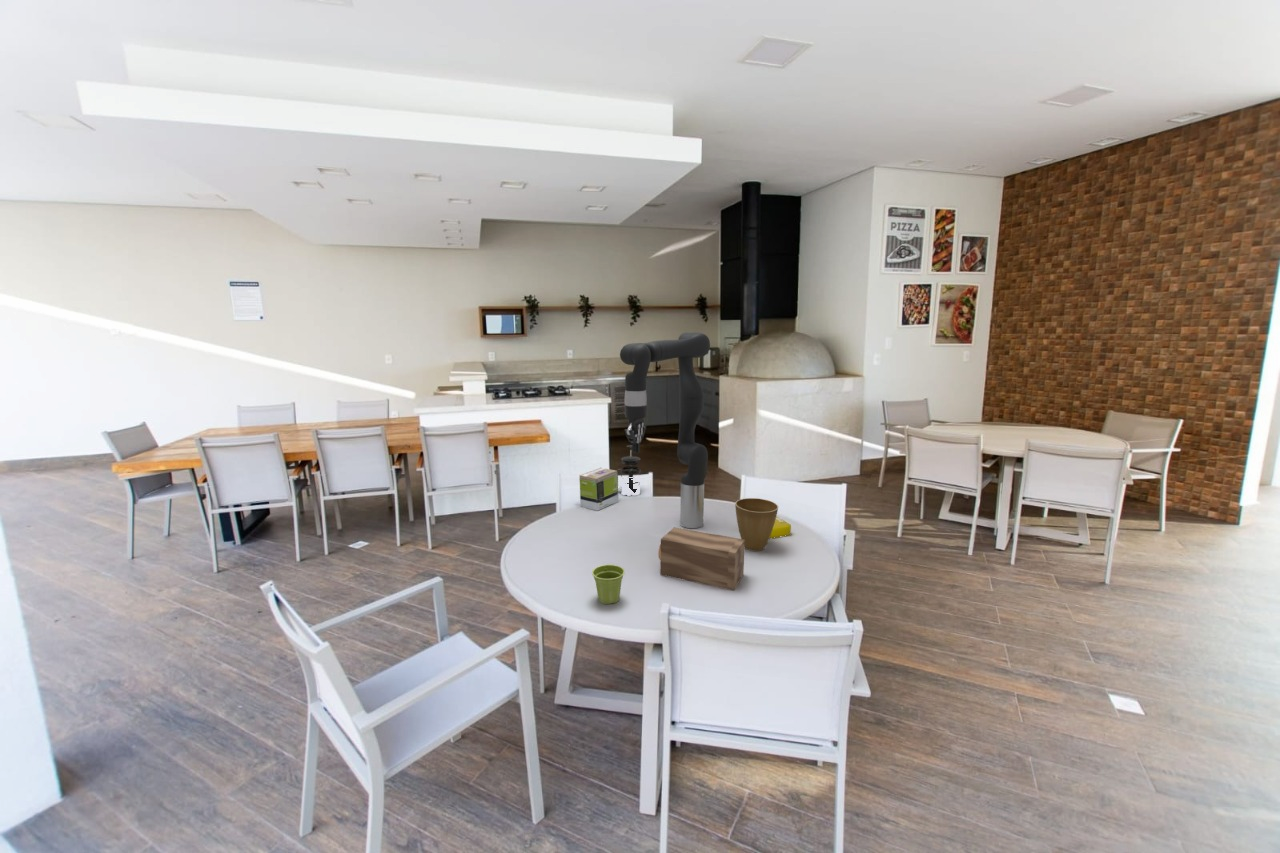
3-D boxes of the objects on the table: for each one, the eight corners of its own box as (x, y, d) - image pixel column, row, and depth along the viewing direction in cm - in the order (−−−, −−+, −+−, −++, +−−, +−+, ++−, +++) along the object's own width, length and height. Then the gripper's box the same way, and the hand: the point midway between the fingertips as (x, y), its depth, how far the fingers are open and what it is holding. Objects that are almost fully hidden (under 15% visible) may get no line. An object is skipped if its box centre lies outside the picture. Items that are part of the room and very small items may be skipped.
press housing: (673, 560, 183) (673, 527, 180) (743, 575, 173) (744, 539, 170) (660, 574, 173) (660, 539, 170) (733, 590, 163) (735, 553, 160)
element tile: (792, 536, 205) (793, 524, 204) (758, 541, 200) (759, 529, 199) (769, 522, 219) (770, 511, 218) (737, 527, 214) (738, 516, 213)
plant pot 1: (586, 604, 155) (586, 575, 153) (600, 589, 163) (600, 562, 162) (617, 610, 151) (616, 581, 150) (629, 594, 160) (629, 567, 158)
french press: (641, 490, 260) (641, 443, 255) (642, 496, 250) (642, 447, 246) (617, 490, 259) (616, 443, 255) (617, 496, 250) (617, 448, 245)
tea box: (601, 498, 248) (601, 466, 245) (618, 502, 242) (618, 470, 239) (579, 507, 236) (578, 474, 233) (597, 511, 230) (596, 478, 227)
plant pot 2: (743, 557, 185) (745, 513, 182) (727, 540, 200) (729, 499, 197) (783, 553, 188) (785, 510, 185) (765, 537, 203) (767, 496, 200)
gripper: (637, 407, 176) (637, 458, 179) (653, 401, 188) (653, 450, 191) (616, 405, 179) (617, 456, 182) (634, 400, 191) (634, 448, 194)
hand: (636, 453), depth 187 cm, fingers closed
